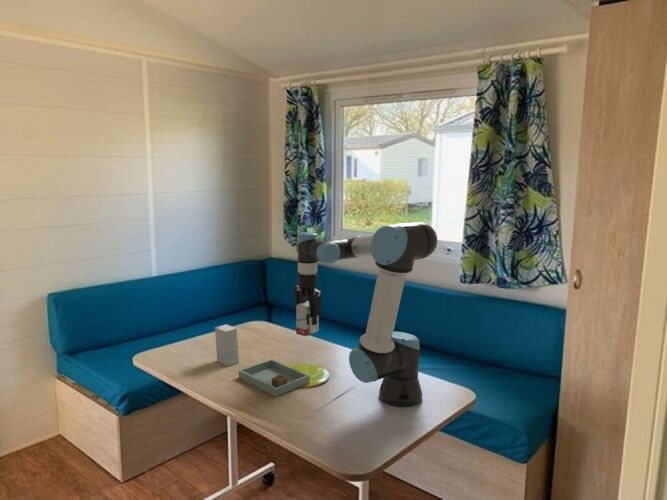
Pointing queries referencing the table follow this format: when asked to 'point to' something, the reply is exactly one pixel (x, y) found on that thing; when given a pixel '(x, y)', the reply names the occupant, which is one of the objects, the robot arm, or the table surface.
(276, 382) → the walnut block
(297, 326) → the ink box
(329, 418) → the table surface
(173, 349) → the table surface
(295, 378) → the tray
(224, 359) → the skincare box
